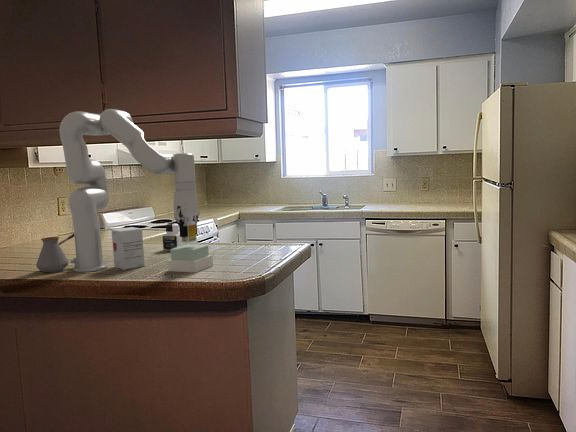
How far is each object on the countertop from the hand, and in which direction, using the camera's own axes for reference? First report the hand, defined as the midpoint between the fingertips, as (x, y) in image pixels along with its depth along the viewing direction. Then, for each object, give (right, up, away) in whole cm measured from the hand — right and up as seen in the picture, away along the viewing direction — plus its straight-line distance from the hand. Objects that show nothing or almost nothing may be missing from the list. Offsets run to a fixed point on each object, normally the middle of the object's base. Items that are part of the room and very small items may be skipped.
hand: (188, 235), depth 186 cm
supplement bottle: (0, -3, 0) cm, 3 cm away
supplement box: (-25, -13, +10) cm, 30 cm away
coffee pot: (-51, -14, +12) cm, 54 cm away
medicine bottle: (-16, -9, +47) cm, 50 cm away
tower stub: (+1, -12, +1) cm, 13 cm away
